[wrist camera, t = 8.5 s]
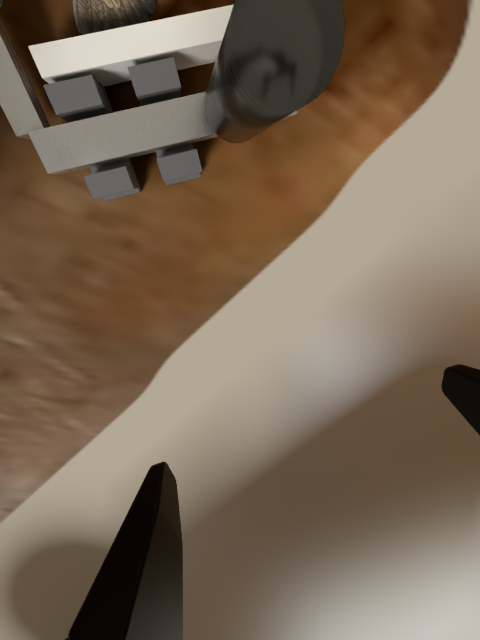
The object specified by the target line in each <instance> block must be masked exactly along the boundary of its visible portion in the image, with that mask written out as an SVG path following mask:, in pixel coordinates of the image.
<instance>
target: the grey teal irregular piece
mask: <svg viewBox="0 0 480 640" xmlns="http://www.w3.org/2000/svg"><path fill="white" fill-rule="evenodd" d="M344 25H345V24H344V12H343V6H342V1H341V0H235V2H234V6H233V9H232V12H231V15H230V18H229V21H228V24H227V27H226V31H225V34H224V37H223V40H222V43H221V46H220V49H219V52H218V56H217V59H216V62H215V65H214V68H213V71H212V74H211V77H210V80H209V84H208V87H207V90H206V92H202V93H198V94H193V95H189V96H184V97H180V98H175V99H171V100H167V101H162V102H158V103H153V104H149V105H145V106H140V107H136V108H131V109H127V110H123V111H118V112H114V113H109V114H105V115H100V116H96V117H92V118H87V119H83V120H78V121H74V122H70V123H65V124H61V125H56V126H52V127H50V124H49V122H48V120H47V118H46V116H45V113H44V111H43V109H42V107H41V105H40V103H39V100H38V98H37V96H36V94H35V92H34V89H33V87H32V85H31V83H30V81H29V78H28V76H27V74H26V72H25V70H24V68H23V65H22V63H21V61H20V59H19V57H18V54H17V52H16V50H15V48H14V46H13V43H12V41H11V39H10V37H9V35H8V33H7V30H6V28H5V26H4V24H3V22H2V19H1V17H0V105H1V107H2V109H3V111H4V113H5V115H6V117H7V119H8V121H9V123H10V124H11V126H12V128H13V130H14V132H15V134H16V136H17V137H20V138H24V139H27V140H28V139H31V140H32V142H33V144H34V146H35V148H36V150H37V152H38V154H39V156H40V158H41V160H42V163H43V165H44V167H45V169H46V171H47V173H48V174H58V175H62V174H66V173H70V172H74V171H79V170H83V169H87V168H91V167H95V166H99V165H103V164H108V163H112V162H116V161H120V160H124V159H128V158H132V157H137V156H141V155H145V154H149V153H153V152H157V151H162V150H166V149H170V148H174V147H178V146H182V145H186V144H191V143H195V142H199V141H203V140H207V139H211V138H215V137H220V138H221V139H223V140H225V141H227V142H230V143H241V142H244V141H247V140H248V139H250V138H252V137H253V136H255V135H257V134H258V133H260V132H262V131H263V130H265V129H267V128H268V127H270V126H272V125H273V124H275V123H278V122H282V121H286V120H288V119H289V118H291V117H293V116H295V115H296V114H297V110H298V109H300V108H301V107H303V106H305V105H306V104H308V103H310V102H311V101H313V100H314V99H315V98H317V97H318V96H319V95H320V94H321V93H322V92H323V90H324V89H325V88H326V87H327V85H328V84H329V82H330V81H331V79H332V77H333V75H334V73H335V71H336V69H337V66H338V64H339V60H340V57H341V53H342V48H343V42H344Z"/></svg>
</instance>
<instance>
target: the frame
mask: <svg viewBox="0 0 480 640" xmlns="http://www.w3.org/2000/svg"><path fill="white" fill-rule="evenodd" d="M233 6H234V5H229V6H224V7H219V8H214V9H209V10H204V11H199V12H194V13H189V14H184V15H180V16H175V17H170V18H165V19H160V20H155V21H150V22H145V23H140V24H135V25H130V26H125V27H120V28H115V29H110V30H106V31H101V32H96V33H91V34H86V35H81V36H76V37H71V38H66V39H61V40H56V41H51V42H46V43H41V44H36V45H31V46H28V47H29V50H30V52H31V54H32V57H33V59H34V61H35V63H36V66H37V68H38V70H39V72H40V75H41V77H42V79H44V80H45V81H46V82H48V83H49V84H50V83H55V82H60V81H64V80H69V79H74V78H78V77H83V76H88V75H92V76H93V77H94V78H95V80H96V81H97V82H98V83H101V84H102V86H108V85H112V84H117V83H122V82H126V81H131V77H130V74H129V71H128V68H127V67H130V66H134V65H139V64H144V63H148V62H153V61H158V60H162V59H167V58H172V57H174V61H175V65H176V69H177V70H181V69H186V68H190V67H195V66H199V65H204V64H208V63H213V62H216V59H217V56H218V52H219V49H220V46H221V43H222V40H223V37H224V34H225V31H226V27H227V24H228V21H229V18H230V15H231V12H232V9H233Z"/></svg>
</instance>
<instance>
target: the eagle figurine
mask: <svg viewBox="0 0 480 640" xmlns="http://www.w3.org/2000/svg"><path fill="white" fill-rule="evenodd" d="M155 3H156V0H73V13H74V17H75V22H76V27H77V30H78V31H79V32H80V33H81V34H84V35H85V34H91V33H96V32H101V31H106V30H110V29H115V28H120V27H125V26H130V25H135V24H140V23H145V22H149V13H151V14H152V13H153V12H154V10H155ZM2 4H3V2H2V0H0V7H1V5H2Z"/></svg>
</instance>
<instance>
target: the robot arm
mask: <svg viewBox="0 0 480 640" xmlns="http://www.w3.org/2000/svg"><path fill="white" fill-rule="evenodd" d="M441 388H442V391H443V393H444V395H445V396H446V397H447V398H448V399H449V400H450V402H451V403H452V404H453V405H454V406H455V407H456V409H457V410H458V411H459V412H460V413H461V414H462V416H463V417H464V418H465V419H466V420H467V421H468V423H469V424H470V425H471V426H472V427H473V428H474V430H475V431H476V432H477V433H478V434H479V435H480V370H479V369H475V368H472V367H468V366H464V365H461V364H457V365H453V366H450V367H447V368H446V369H445V370H444V374H443V380H442V385H441ZM182 545H183V544H182V532H181V522H180V512H179V502H178V493H177V483H176V479H175V477H174V475H173V474H172V471H171V470H170V468H169V466H168V464H167V463H166V462H161V463H158V464H155V465H153V466H151V468H150V469H149V471H148V473H147V475H146V477H145V479H144V481H143V483H142V485H141V487H140V489H139V491H138V493H137V495H136V497H135V499H134V501H133V503H132V505H131V507H130V509H129V511H128V513H127V515H126V517H125V519H124V521H123V523H122V525H121V527H120V530H119V532H118V534H117V536H116V538H115V540H114V542H113V544H112V546H111V548H110V550H109V552H108V554H107V556H106V558H105V560H104V562H103V564H102V566H101V568H100V570H99V572H98V574H97V576H96V578H95V580H94V582H93V584H92V586H91V588H90V590H89V592H88V594H87V596H86V598H85V600H84V602H83V604H82V606H81V608H80V610H79V612H78V614H77V616H76V618H75V620H74V623H73V625H72V627H71V629H70V630H69V633H68V638H66V639H65V640H183V546H182Z"/></svg>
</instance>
